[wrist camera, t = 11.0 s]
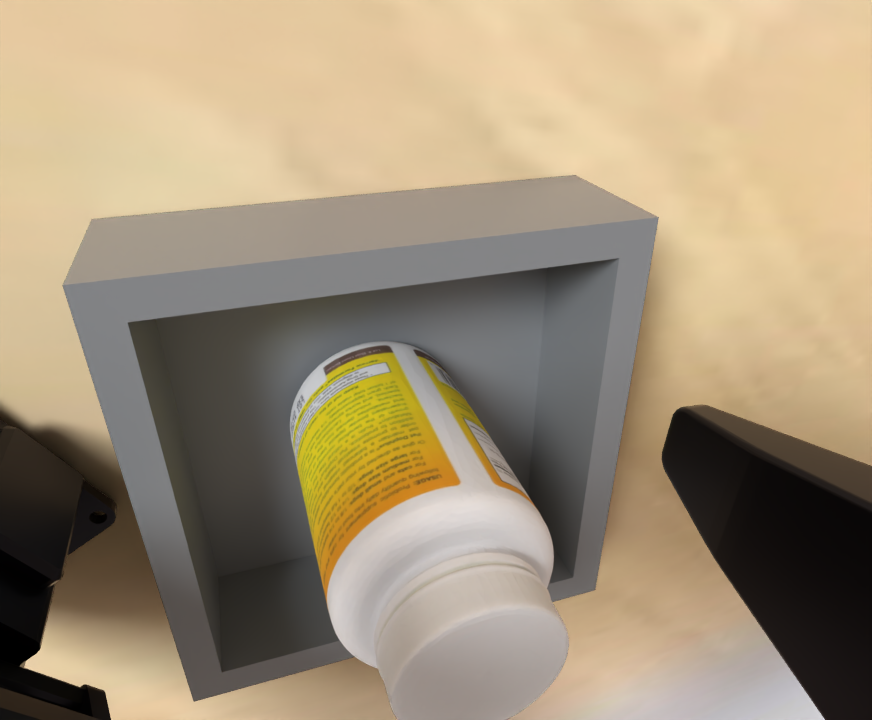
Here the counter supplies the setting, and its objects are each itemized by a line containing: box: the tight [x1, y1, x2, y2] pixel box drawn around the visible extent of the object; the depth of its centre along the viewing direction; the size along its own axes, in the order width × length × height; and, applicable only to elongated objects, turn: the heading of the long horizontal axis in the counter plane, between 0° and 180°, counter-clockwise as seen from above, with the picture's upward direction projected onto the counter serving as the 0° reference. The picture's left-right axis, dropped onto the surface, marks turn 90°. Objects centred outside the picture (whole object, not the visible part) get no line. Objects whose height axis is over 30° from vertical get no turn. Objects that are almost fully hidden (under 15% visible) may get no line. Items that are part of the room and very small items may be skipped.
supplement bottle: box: [290, 341, 569, 720], centre depth 18 cm, size 6×6×10 cm
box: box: [63, 175, 659, 701], centre depth 20 cm, size 14×14×4 cm
